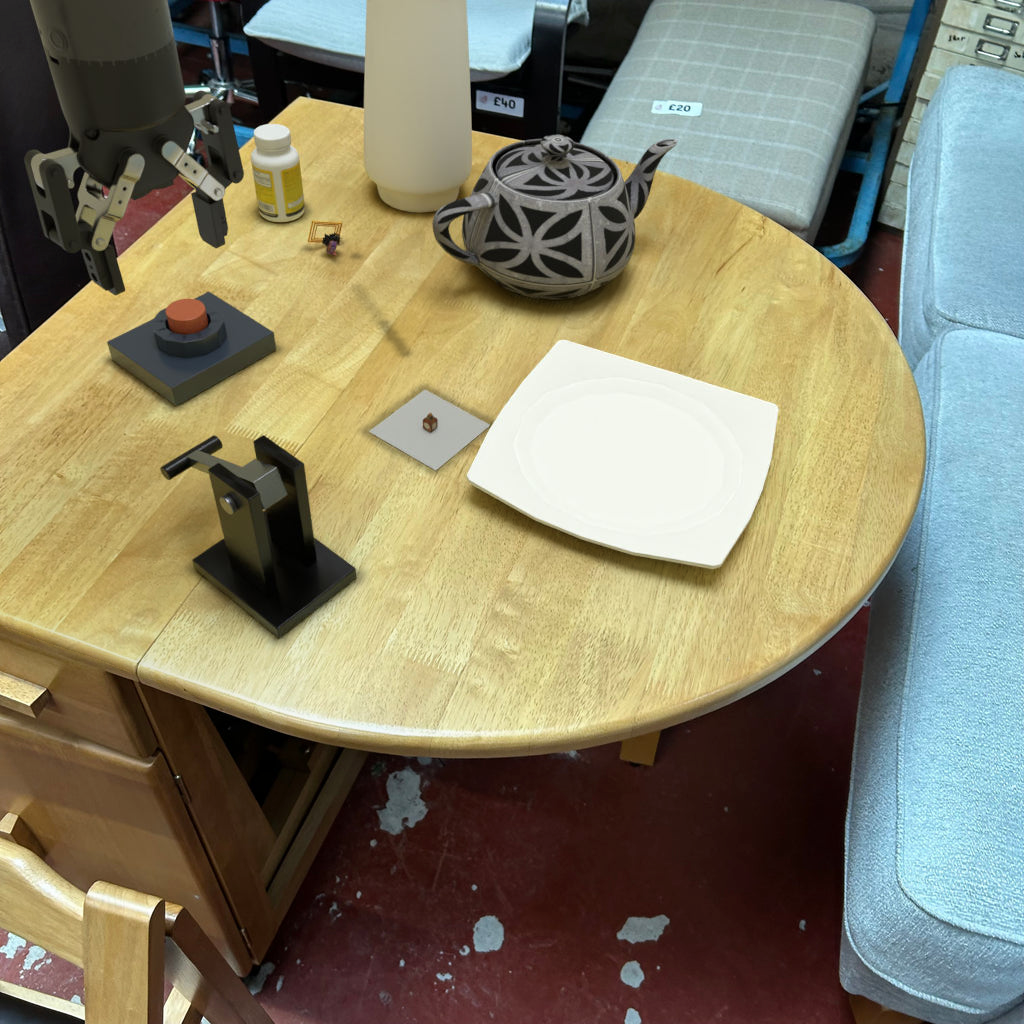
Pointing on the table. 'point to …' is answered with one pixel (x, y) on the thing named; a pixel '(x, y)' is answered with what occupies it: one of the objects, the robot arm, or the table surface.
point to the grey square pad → (429, 429)
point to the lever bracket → (271, 547)
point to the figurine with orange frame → (328, 240)
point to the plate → (629, 456)
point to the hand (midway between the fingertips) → (164, 265)
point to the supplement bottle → (277, 174)
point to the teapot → (551, 216)
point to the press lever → (252, 473)
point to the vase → (417, 102)
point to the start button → (186, 316)
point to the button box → (192, 350)
